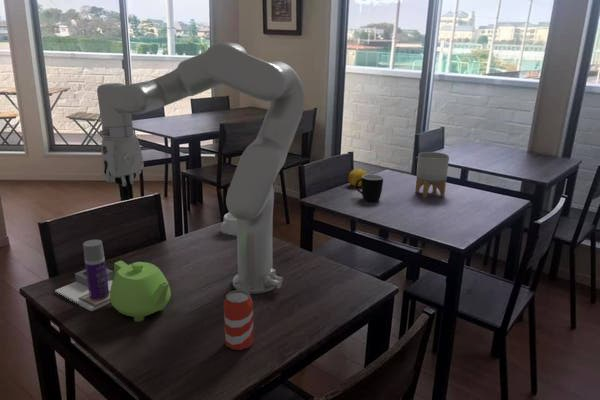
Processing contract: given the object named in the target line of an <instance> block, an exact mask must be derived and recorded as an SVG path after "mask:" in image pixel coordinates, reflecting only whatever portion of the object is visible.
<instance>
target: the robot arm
mask: <svg viewBox="0 0 600 400" xmlns="http://www.w3.org/2000/svg"><path fill="white" fill-rule="evenodd" d="M221 85H224V86H226V87H228V88H231V89H232V90H235V91H238V92H240V93H242V94H245V95H247V96H249V97H251V98H254V99H257V100H258V101H264V102H270V103H269V107H268V108H267V111H266V114H265V116H264V118H263V122H262V124H261V126H260V129H259V131H258V133H257V135H256V138H255V139H254V140H253V141H252V142H251V143H250V144H249V145H248V146H247V147H246V148H245V149H244V151H243V152H242V154H241V156H240V159H239V161H238V164H237V166H236V169H235V171H234V173H233V177H232V179H231V182H230V184H229V187H228V189H227V192H226V197H225V204H226V208H227V211H228V213H231V215H232V216H233V217H235V218H236V219H237V236H236V250H237V251H236V252H237V274H236V275H234V276H233V278H232V286H233V288H234V289H235V290H244V291H246V292H248V293H249V294H250V295H251V294H252V295H257V294H264V293H267V292H270V291H273V290H274V289H275V288H276V289H280V288H281V287H282V284H283V283H282V282H283V280H284V278H283V277H282V276H278V275H277V272H276V271H277V270H276V268H273V266H274V265H273V228H274V227H273V220H274V218H273V216H274V203H275V188H274V183H275V181H276V178H277V176H278V173H280V171H281V169H282V168H283V167H284V165H285V163H286V160H287V156H288V154H289V150H290V148H291V146H292V143H293V141H294V138H295V135H296V132H297V130H298V127H299V124H300V122H301V119H302V118H303V112H304V109H305V102H306V101H305V100H306V97H305V96H306V95H305V87H304V86H303V83H302V80H301V78H300V77H299V75H298V73H297V72H296V71H295V70H294V69H293V67H291V66H290V65H289V64H287V63H285V62H283V61H277V60H275V61H266V60H263V59H261V58H258V57H256V56H253V55H250V54H248V52H247V51H246V49H245V48H244V47H243V45H240V44H239V43H235V42H230V41H229V42H217V43H214V44H213V45H211V46H210V47H208V48H207V49H206V51H205V52H201V53H199V54H197V55H195V56H192V57H190V58H187V59H184V60H181V61H180V62H179V63H178V65H177V67H176V68H174V69H173V70H172V71H170V72H168V73H165V74H163V75H161V76H158V77H155V78H153V79H150V80H146V81H141V82H136V83H130V84H124V83H120V82H119V83H104V84H100V85H98V86H97V89H96V94H97V95H96V96H97V99H98V100H97V101H98V102H97V103H98V105H99V106H98V107H99V113H100V114H99V116H100V121H101V130H99V132H98V133H99V135H100V137H103V138H102V139H101V162H102V164H101V165H102V171H103V174H104V175H105V182H109V183H115V184H116V185H117V186H118V188H119V189H118V190H119V194H120V199H123V200H126V201H129V200H131V199H134V191H133V190H134V189H133V185H134V184H135V183H134V182H135V179H136V177H137V176H139V175H140V174H141V173H142V171H143V170H144V168H145V167H144V165H145V163H144V158H143V153H142V149H141V144H140V141H139V139H138V136H137V134H134V128H133V119H132V118H133V117H132V115H141V114H145V113H149V112H151V111H155V110H158V109H161V108H164V107H165V106H169V105H171V104H173V103H176V102H178V101H182V100H183V99H186V98H189V97H194V96H196V95H199V94H201V93H203V92H205V91H208V90H212V89H213V88H216V87H218V86H221Z"/></svg>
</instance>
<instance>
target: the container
mask: <svg viewBox="0 0 600 400" xmlns="http://www.w3.org/2000/svg"><path fill="white" fill-rule="evenodd" d="M82 248H83V258H84V259H83V260H84V265H85V266H84V267H85V269H86V275H87V282H88V289H89V296H90V299H91V300H92V301H101V300H104V299H106V298H108V297H109V289H108V281H107V273H106V268H107V267H106V259H105V258H106V257H105V251H104V245H103V241H102V240H101V239H89V240H86V241H84V242H83V243H82Z"/></svg>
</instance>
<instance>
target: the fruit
mask: <svg viewBox="0 0 600 400" xmlns="http://www.w3.org/2000/svg"><path fill="white" fill-rule="evenodd" d="M367 174H368V173H367V172H366V171H365V170H364V169H362V168H355V169H352V170H351V171H350V172H349V173H348V182H349V184H350V185H351V186H353V187H355V188H356V182H357V181H358V180H359V179H362V176H363V175H367ZM359 187H362V181H359V182H358V188H359Z"/></svg>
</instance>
